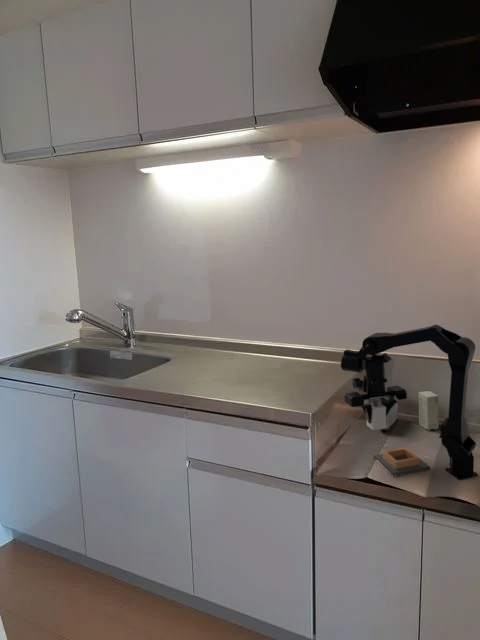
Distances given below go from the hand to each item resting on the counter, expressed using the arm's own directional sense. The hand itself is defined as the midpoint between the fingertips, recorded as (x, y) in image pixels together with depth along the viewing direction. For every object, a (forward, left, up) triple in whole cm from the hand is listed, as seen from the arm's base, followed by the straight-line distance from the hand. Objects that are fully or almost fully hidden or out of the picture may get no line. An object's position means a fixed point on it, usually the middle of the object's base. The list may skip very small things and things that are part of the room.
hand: (376, 421), depth 164 cm
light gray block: (0, 0, -2) cm, 2 cm away
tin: (+18, -14, -11) cm, 26 cm away
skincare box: (+12, -26, -11) cm, 31 cm away
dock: (-9, -3, -11) cm, 14 cm away
